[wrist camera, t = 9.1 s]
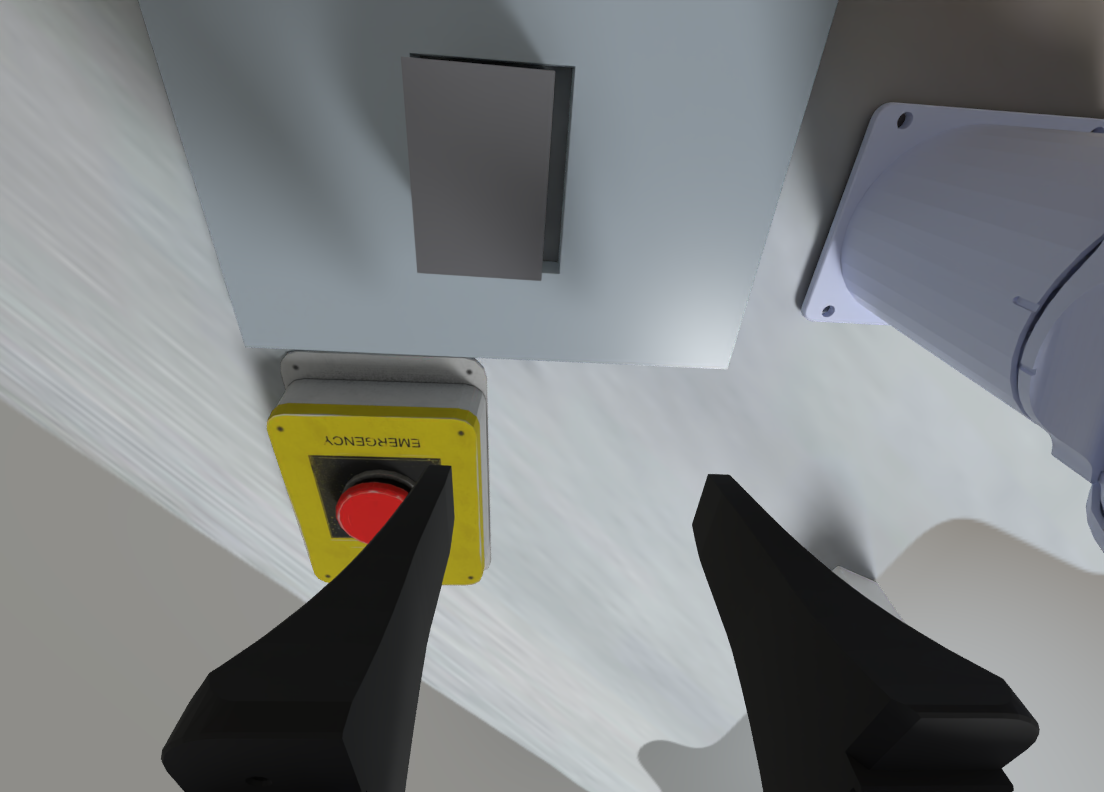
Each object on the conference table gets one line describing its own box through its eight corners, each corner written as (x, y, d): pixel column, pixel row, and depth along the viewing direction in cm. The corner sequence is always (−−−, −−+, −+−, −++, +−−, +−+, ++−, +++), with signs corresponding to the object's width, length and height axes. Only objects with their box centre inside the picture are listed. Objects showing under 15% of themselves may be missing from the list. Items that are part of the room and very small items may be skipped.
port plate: (833, -64, 14) (862, -78, 13) (716, 352, 22) (727, 369, 21) (131, -134, 13) (89, -158, 12) (262, 331, 21) (245, 347, 20)
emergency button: (477, 404, 18) (485, 630, 27) (487, 351, 22) (492, 564, 30) (227, 396, 18) (313, 629, 26) (280, 344, 22) (341, 561, 30)
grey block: (549, 75, 16) (555, 70, 11) (540, 228, 19) (541, 281, 14) (444, 66, 16) (400, 56, 11) (449, 222, 19) (417, 273, 14)
